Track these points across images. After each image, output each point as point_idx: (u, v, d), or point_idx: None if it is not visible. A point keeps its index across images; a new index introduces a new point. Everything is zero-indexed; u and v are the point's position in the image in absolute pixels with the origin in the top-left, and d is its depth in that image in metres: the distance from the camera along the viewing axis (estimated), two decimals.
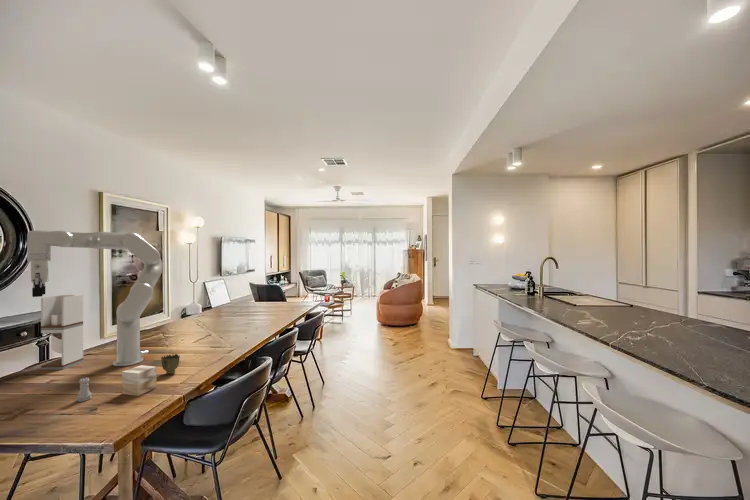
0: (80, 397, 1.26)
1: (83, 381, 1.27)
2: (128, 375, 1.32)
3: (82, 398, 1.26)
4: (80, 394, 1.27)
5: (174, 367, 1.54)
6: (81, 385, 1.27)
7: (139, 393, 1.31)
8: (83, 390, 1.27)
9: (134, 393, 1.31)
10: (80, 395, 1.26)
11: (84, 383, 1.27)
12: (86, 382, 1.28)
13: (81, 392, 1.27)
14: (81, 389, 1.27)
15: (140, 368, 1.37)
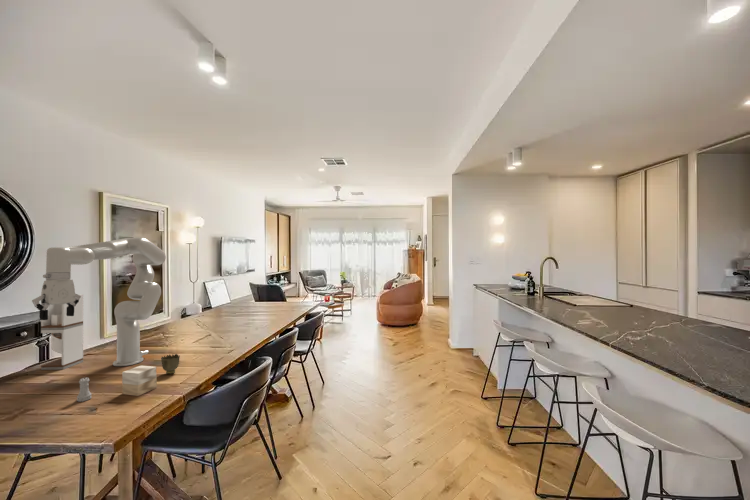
0: (80, 397, 1.26)
1: (83, 381, 1.27)
2: (129, 375, 1.32)
3: (82, 398, 1.26)
4: (80, 394, 1.27)
5: (174, 367, 1.54)
6: (81, 385, 1.27)
7: (139, 393, 1.31)
8: (83, 390, 1.27)
9: (134, 393, 1.31)
10: (80, 395, 1.26)
11: (84, 383, 1.27)
12: (86, 382, 1.28)
13: (81, 392, 1.27)
14: (81, 389, 1.27)
15: (140, 368, 1.37)
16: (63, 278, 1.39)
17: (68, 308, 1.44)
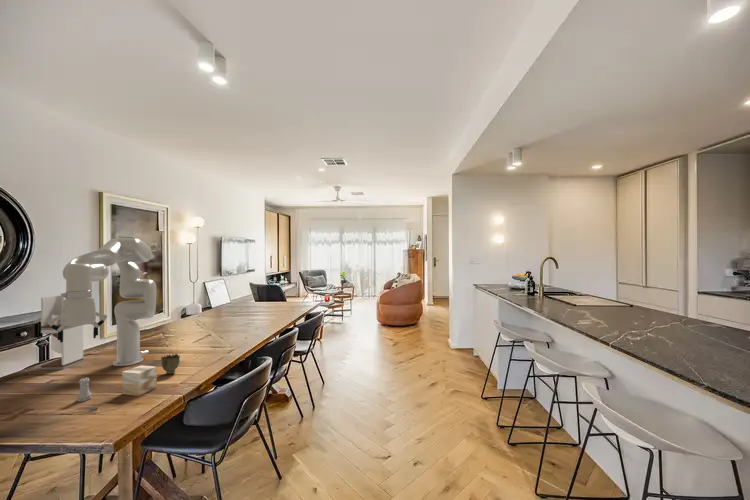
0: (80, 397, 1.26)
1: (83, 381, 1.27)
2: (129, 375, 1.32)
3: (82, 398, 1.26)
4: (80, 394, 1.27)
5: (174, 367, 1.54)
6: (81, 385, 1.27)
7: (139, 393, 1.31)
8: (83, 390, 1.27)
9: (134, 393, 1.31)
10: (80, 395, 1.26)
11: (84, 383, 1.27)
12: (86, 382, 1.28)
13: (81, 392, 1.27)
14: (81, 389, 1.27)
15: (140, 368, 1.37)
16: (76, 298, 1.27)
17: None
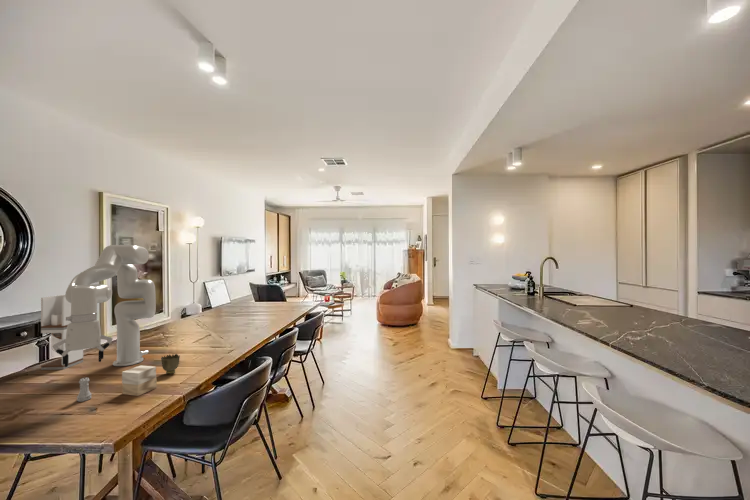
0: (80, 397, 1.26)
1: (83, 381, 1.27)
2: (128, 375, 1.32)
3: (82, 398, 1.26)
4: (80, 394, 1.27)
5: (174, 367, 1.54)
6: (81, 385, 1.27)
7: (139, 393, 1.31)
8: (83, 390, 1.27)
9: (134, 393, 1.31)
10: (80, 395, 1.26)
11: (84, 383, 1.27)
12: (86, 382, 1.28)
13: (81, 392, 1.27)
14: (81, 389, 1.27)
15: (140, 368, 1.37)
16: (80, 321, 1.25)
17: None
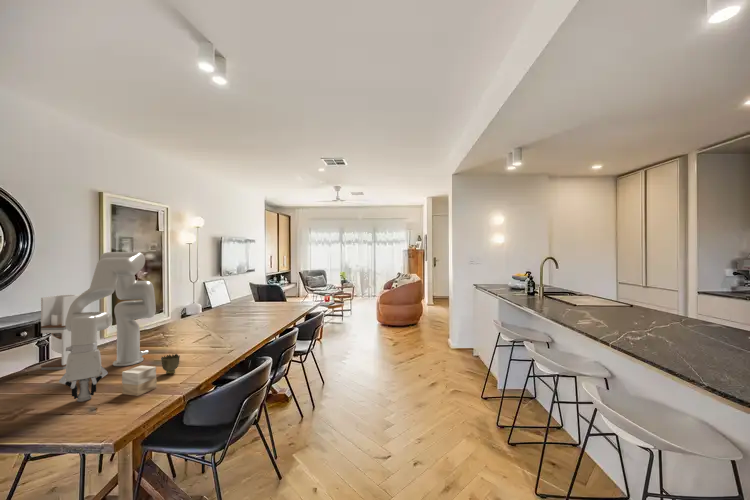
0: (80, 397, 1.26)
1: (83, 381, 1.27)
2: (128, 375, 1.32)
3: (82, 398, 1.26)
4: (80, 394, 1.27)
5: (174, 367, 1.54)
6: (81, 385, 1.27)
7: (139, 393, 1.31)
8: (83, 390, 1.27)
9: (134, 393, 1.31)
10: (80, 395, 1.26)
11: (84, 383, 1.27)
12: (86, 382, 1.28)
13: (81, 392, 1.27)
14: (81, 389, 1.27)
15: (140, 368, 1.37)
16: (80, 352, 1.25)
17: (91, 385, 1.30)
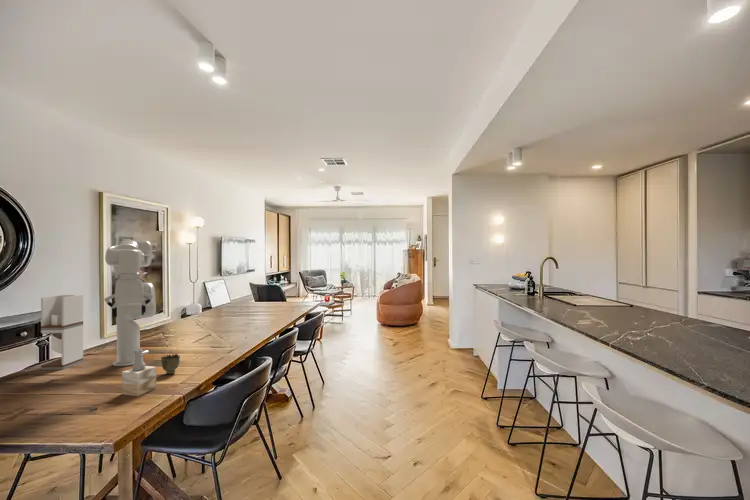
0: (135, 366, 1.34)
1: (137, 351, 1.34)
2: (128, 375, 1.32)
3: (136, 367, 1.34)
4: (135, 363, 1.34)
5: (174, 367, 1.54)
6: (135, 355, 1.35)
7: (138, 393, 1.31)
8: (137, 360, 1.34)
9: (133, 393, 1.31)
10: (135, 364, 1.34)
11: (138, 353, 1.35)
12: (139, 352, 1.35)
13: (136, 362, 1.34)
14: (135, 359, 1.35)
15: None
16: (127, 279, 1.45)
17: (141, 307, 1.51)
